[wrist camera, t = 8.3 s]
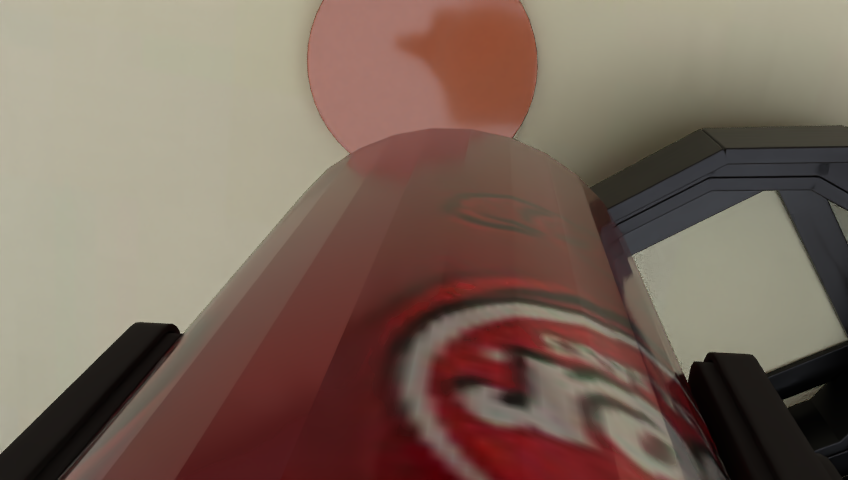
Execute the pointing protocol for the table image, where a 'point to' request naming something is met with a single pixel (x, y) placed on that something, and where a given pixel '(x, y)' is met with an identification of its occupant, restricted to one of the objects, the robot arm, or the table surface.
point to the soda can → (422, 338)
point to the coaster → (420, 67)
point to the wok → (807, 208)
